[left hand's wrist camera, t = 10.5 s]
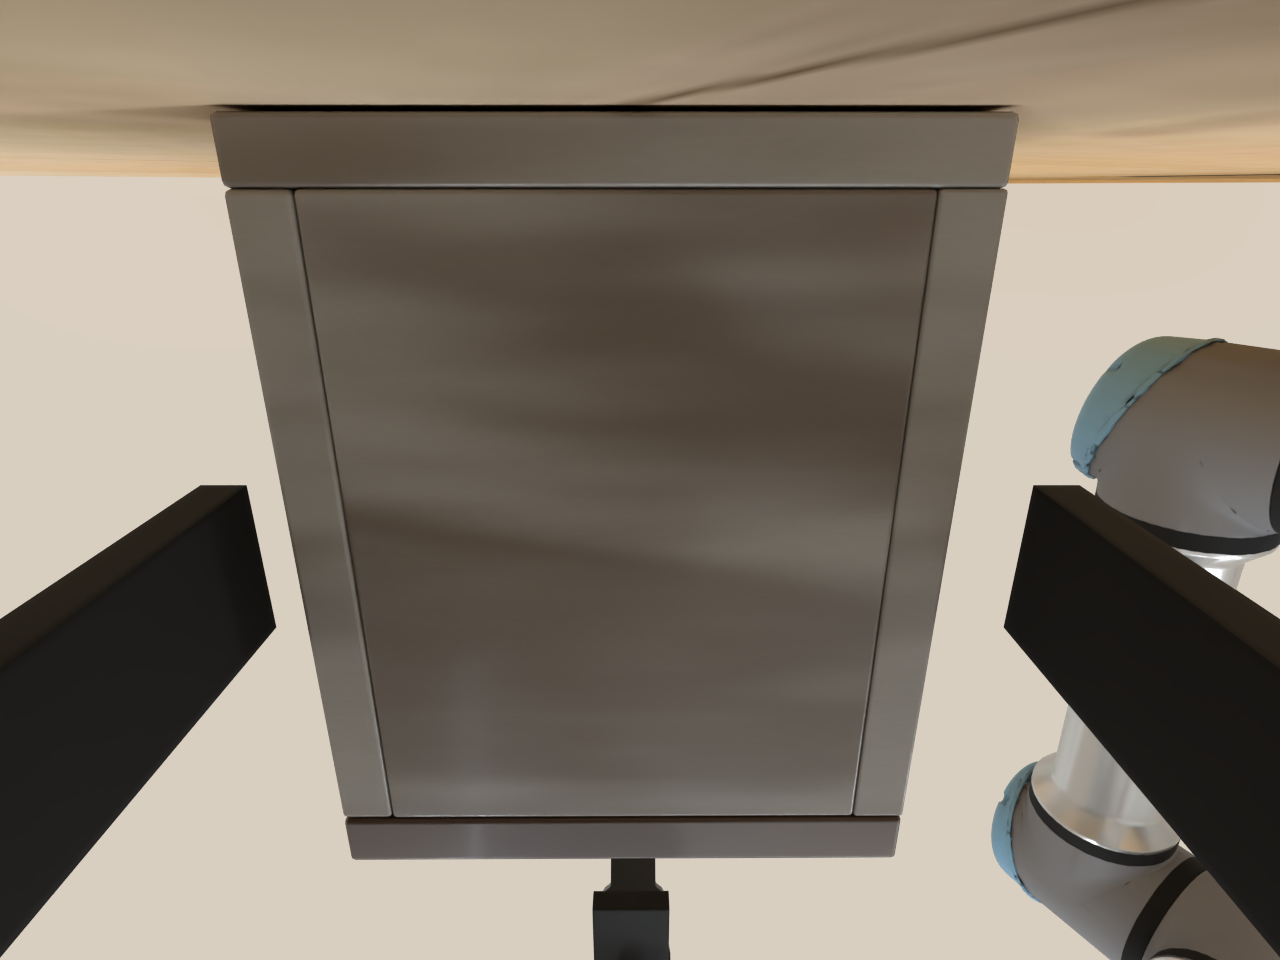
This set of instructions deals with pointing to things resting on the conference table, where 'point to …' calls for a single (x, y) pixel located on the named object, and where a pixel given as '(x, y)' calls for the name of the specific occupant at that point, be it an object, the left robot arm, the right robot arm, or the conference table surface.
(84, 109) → the conference table surface
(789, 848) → the lid
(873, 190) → the chest
